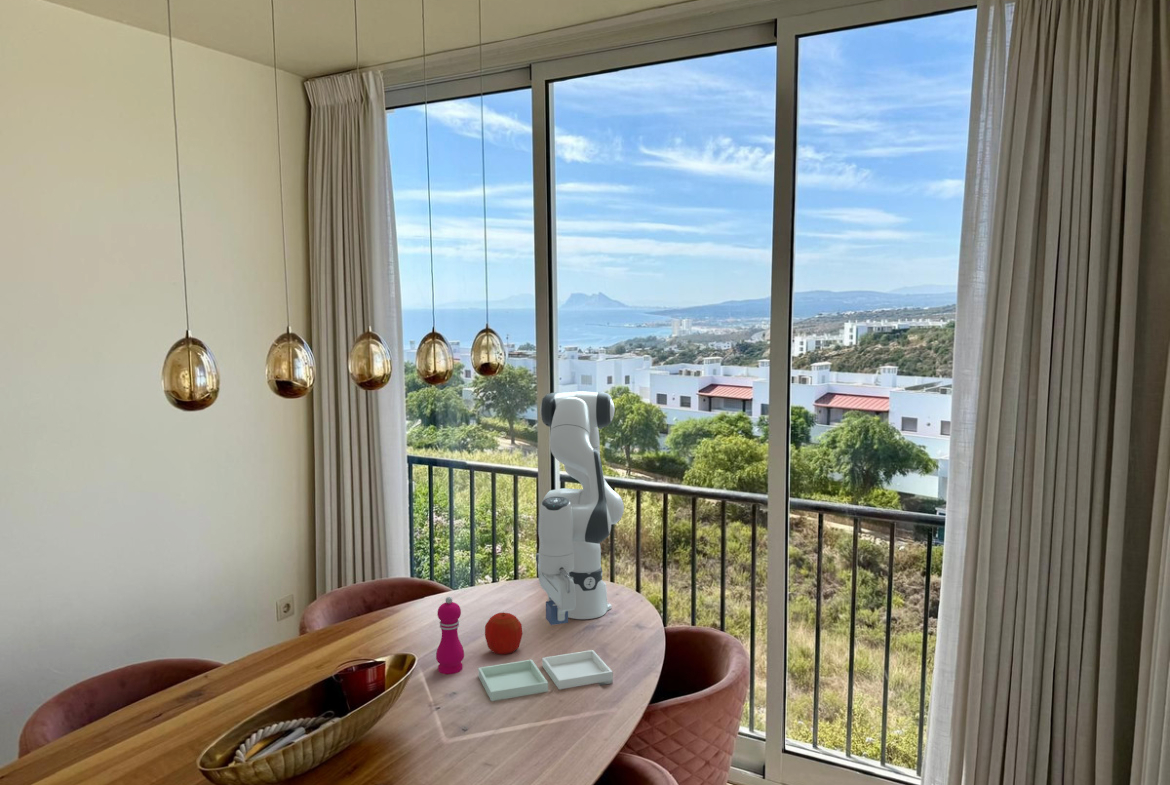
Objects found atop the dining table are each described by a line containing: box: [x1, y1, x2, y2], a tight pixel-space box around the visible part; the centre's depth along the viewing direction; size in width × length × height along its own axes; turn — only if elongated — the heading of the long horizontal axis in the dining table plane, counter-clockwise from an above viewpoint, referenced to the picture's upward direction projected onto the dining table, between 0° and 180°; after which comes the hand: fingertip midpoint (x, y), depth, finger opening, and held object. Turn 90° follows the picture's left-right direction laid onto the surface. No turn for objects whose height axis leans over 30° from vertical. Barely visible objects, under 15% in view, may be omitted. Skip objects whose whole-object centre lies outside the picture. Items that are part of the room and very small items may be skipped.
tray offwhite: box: [541, 649, 614, 690], centre depth 200 cm, size 14×14×3 cm
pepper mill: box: [435, 596, 465, 675], centre depth 202 cm, size 7×7×20 cm
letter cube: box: [545, 600, 569, 626], centre depth 197 cm, size 4×4×5 cm
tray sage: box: [477, 659, 549, 702], centre depth 194 cm, size 14×14×3 cm
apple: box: [484, 612, 524, 655], centre depth 214 cm, size 10×10×12 cm
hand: (557, 615), depth 197 cm, fingers closed on letter cube, 4 cm apart
